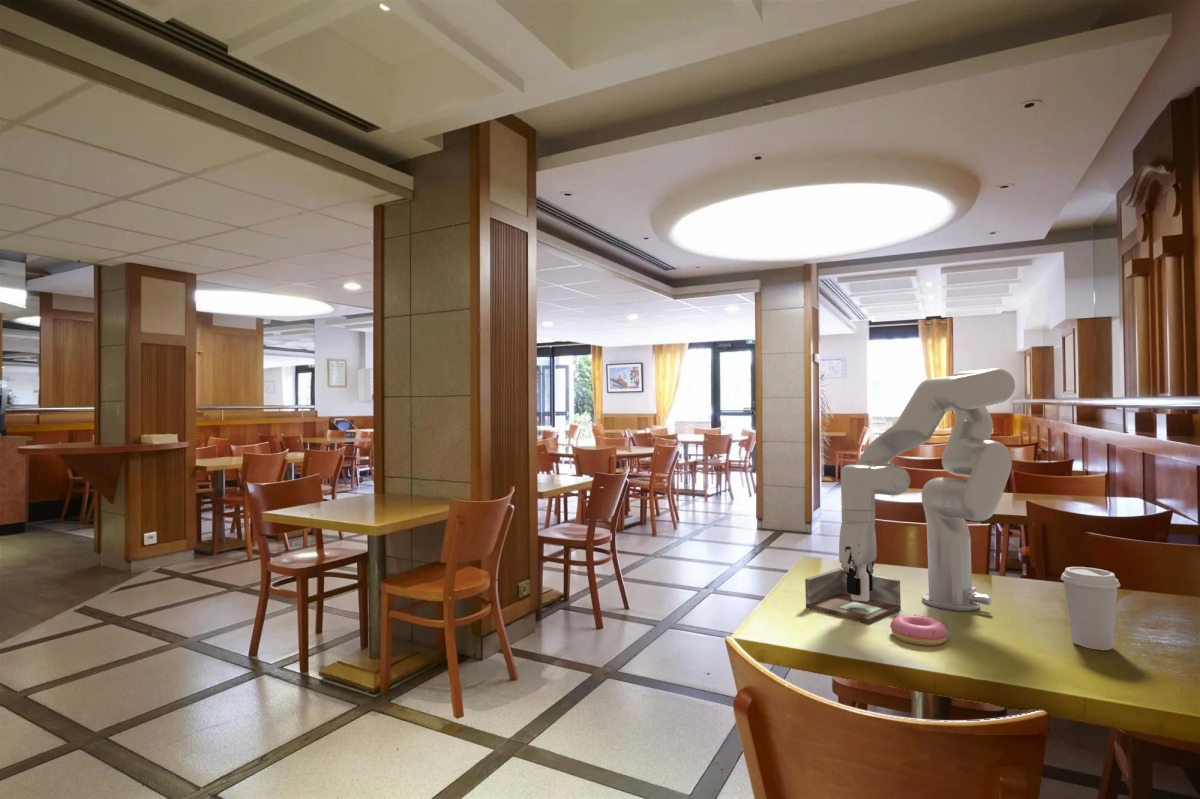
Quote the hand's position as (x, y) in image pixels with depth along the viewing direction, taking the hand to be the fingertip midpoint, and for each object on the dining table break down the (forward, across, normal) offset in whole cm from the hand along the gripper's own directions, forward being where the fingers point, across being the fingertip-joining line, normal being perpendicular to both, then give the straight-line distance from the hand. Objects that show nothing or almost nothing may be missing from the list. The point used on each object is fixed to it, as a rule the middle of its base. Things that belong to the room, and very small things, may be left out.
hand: (859, 591), depth 146 cm
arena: (+5, -2, -3) cm, 6 cm away
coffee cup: (+5, -16, +41) cm, 44 cm away
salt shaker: (+2, 0, 0) cm, 2 cm away
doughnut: (+6, +6, +16) cm, 18 cm away
